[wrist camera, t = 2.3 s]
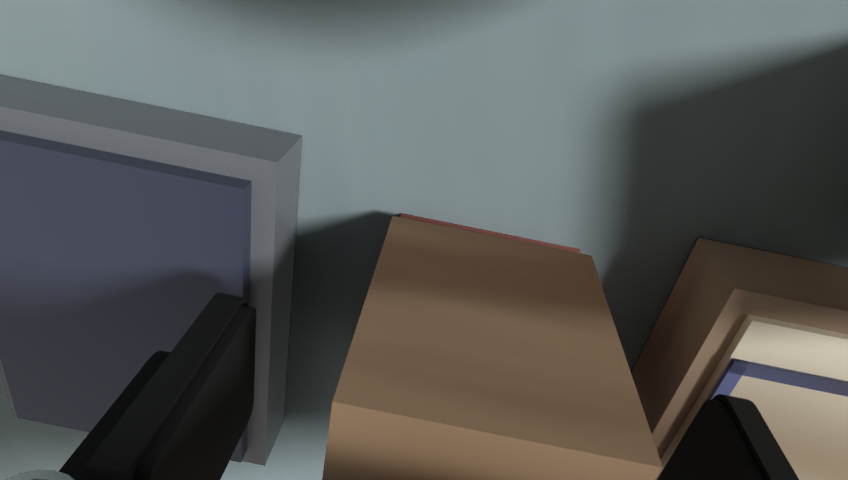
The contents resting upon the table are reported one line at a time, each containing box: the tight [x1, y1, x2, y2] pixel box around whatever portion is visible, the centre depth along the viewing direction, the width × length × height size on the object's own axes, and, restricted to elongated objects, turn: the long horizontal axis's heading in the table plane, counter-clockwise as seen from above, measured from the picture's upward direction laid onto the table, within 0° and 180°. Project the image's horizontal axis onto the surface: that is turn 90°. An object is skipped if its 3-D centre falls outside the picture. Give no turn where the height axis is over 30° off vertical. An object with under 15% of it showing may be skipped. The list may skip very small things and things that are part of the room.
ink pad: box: [0, 75, 302, 465], centre depth 13 cm, size 9×7×2 cm
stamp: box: [322, 213, 663, 480], centre depth 10 cm, size 4×4×8 cm
